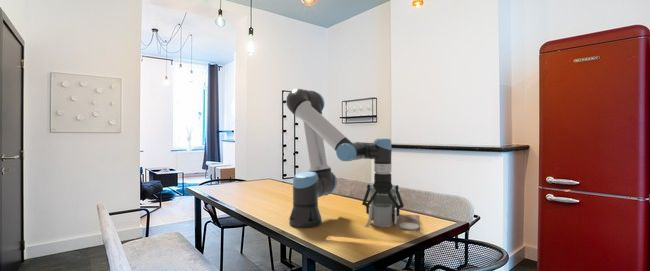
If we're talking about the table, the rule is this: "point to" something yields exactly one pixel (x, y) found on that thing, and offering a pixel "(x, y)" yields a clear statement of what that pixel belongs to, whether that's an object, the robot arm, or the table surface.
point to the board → (403, 221)
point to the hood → (384, 200)
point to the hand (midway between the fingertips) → (382, 222)
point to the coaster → (409, 225)
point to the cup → (382, 215)
